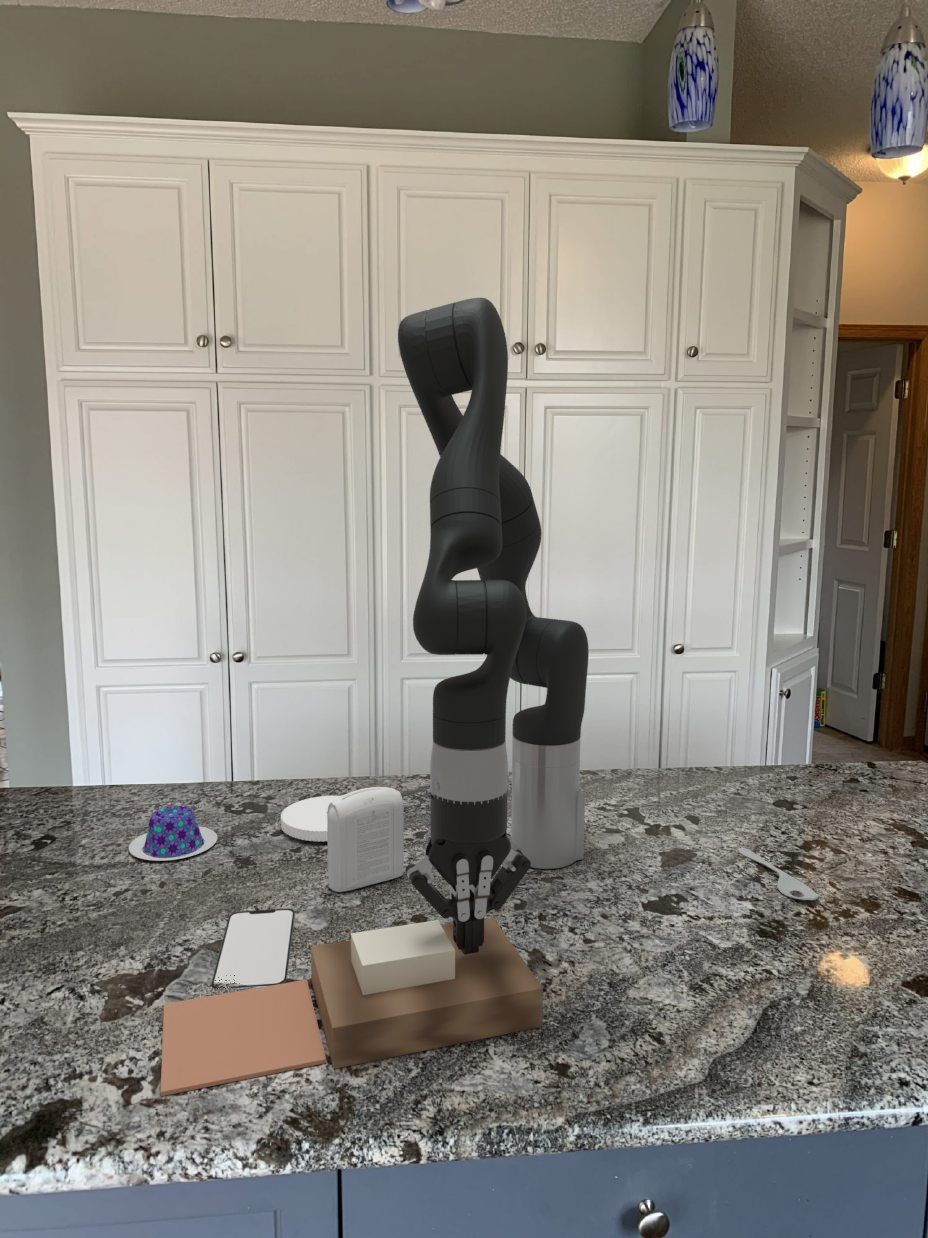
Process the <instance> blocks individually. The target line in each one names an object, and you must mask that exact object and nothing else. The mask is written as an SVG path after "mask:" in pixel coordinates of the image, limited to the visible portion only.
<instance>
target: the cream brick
mask: <svg viewBox="0 0 928 1238" xmlns="http://www.w3.org/2000/svg"><path fill="white" fill-rule="evenodd" d="M442 926H443V925H442V924H441V923H440V921H439V919H435V920H429V921H422V922H417V923H411V924H409V923H408V924H403V925H397V926H396V925H395V926H391V927H383V928H376V929H371V930H364V931H358V932H352V933H350V940H351V962H352V965H353V967H354V970H355V973H356V976H357V979H358V982H359V985H360V988H361V991H362V994H363V995H367V994H373V993H379V992H384V991H390V990H395V989H401V988H406V987H412V986H418V985H423V984H429V983H434V982H440V981H445V980H451V979H455V949H454V947H453V945H452V944H451V942H450V940H449V938H448V937H447V935H446V933H445V931H444V930H443V928H442Z"/></svg>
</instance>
